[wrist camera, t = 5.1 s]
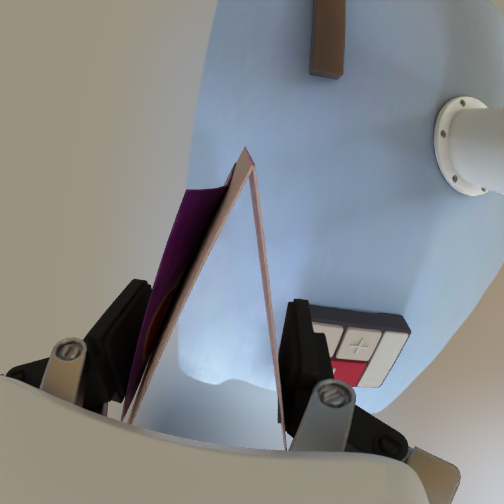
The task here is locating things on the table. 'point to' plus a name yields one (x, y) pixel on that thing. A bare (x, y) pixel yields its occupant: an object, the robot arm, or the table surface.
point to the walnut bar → (328, 39)
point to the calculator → (361, 343)
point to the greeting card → (194, 274)
